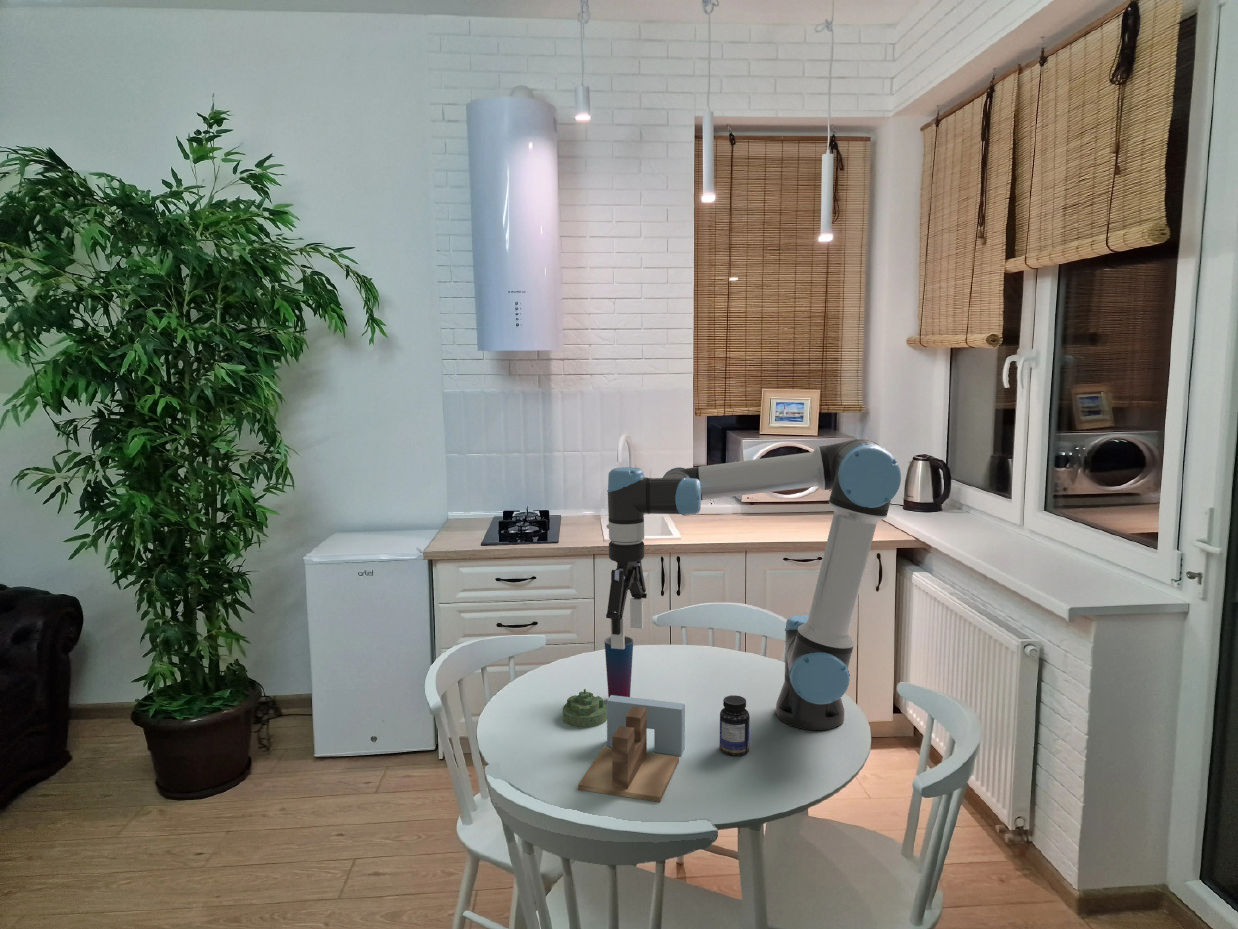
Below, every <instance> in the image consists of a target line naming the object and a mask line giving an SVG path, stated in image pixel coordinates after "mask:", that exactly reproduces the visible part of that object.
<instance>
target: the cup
mask: <svg viewBox="0 0 1238 929" xmlns="http://www.w3.org/2000/svg"><path fill="white" fill-rule="evenodd" d="M624 636H625V648H624V649H615V648H611V636H608V637H606V638H605V639H604V652H605V667H606V681H607V682H606V683H607V694H608V695H607V696H608V698H609V697H610V696H611V695H615V696H623V697H631V689H632V688H631V685H632V683H631V682H632V671H633V670H632V669H633V652H634V639H633V638H632V637H630V636H626V635H624Z"/></svg>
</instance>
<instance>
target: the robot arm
mask: <svg viewBox="0 0 1238 929" xmlns="http://www.w3.org/2000/svg"><path fill="white" fill-rule="evenodd" d="M643 470H644V469H642V468H640V467H634V466H633V467H632V466H625V467H624V466H623V467H622V466H621V467H616V468H615V467H614V468H613V469H611V470H610V471H609V472H608V479H607V480H608V481H607V515H608V517H607V518H608V520H607V521H608V524H607V525H606V529H607V530H608V540H610V541H609V542H608V559H609V560H611V561H612V562H615V563H616V564H617V565H616V568H615V569H611V572H610V575H611V576H610V588H609V594H608V603H607V610H606V614H605V617H606V619H610V637H611V648H615V649H624V648H625V636H626V635H625V617H624V611H625V606H626V602H627V596H628V592H630V596H631V598H629V604H630V605H629V608H630V609H629V610H630V611H629V612H630V613H629V614H630V618H629V619H630V621H629V622H630V625H629V626H630V628H633V629H644V606H643V605H644V599H647V596H648V594H647V593H646V591H647V589H646V583H645V577H644V573H643V571H644V570H643V567H642V560H644V558H645V543H644V539H645V514H648V515H649V514H658V515H659V514H660V515H682V516H686V515H696V514H699V513H700V511H701V508H702V507H701V506H702V501H703V500H704V501H705V500H715V499H722V498H730V497H738V496H739V497H740V496H747V495H756V494H765V493H773V492H780V491H781V492H782V491H788V490H799V489H808V488H816V487H817V488H819V489H821V490H822V491H828V490H829V491H830V490H831V492H830V495H829V498H828V499H829V500H828V503H829V506H830V507H831V508H832V510H833V514H832V515H833V516H832V519H831V524H830V528H829V532H828V536H827V541H826V544H825V548H824V552H823V557H822V561H821V564H820V568H819V573H818V575H817V576H818V577H817V580H816V584H815V589H814V593H813V596H812V597H813V598H812V601H811V606H810V610H809V612H808V613H809V614H805V615H803V614H802V615H801V614H800V615H795V616H790V617H789V618H787V619H786V622H785V628H784V631H785V640H784V641H785V643H784V644H785V648H784V649H785V650H784V653H785V654H784V682H783V684H782V687H781V689H780V692H779V695H778V698H777V701H776V703H775V715H776V717H777V718H778V720H780V721H781V722H783V723H784V724H786V725H789V726H791V727H794V728H798V729H800V730H801V729H802V730H810V731H825V730H831V728H832V729H836V728H837V727H836V726H838V725H839V726H841V725H842V724H843V723H844V721H845V707H844V704H843V700H842V697H843V696H844V695H845V694H846V693H847V690H848V688H849V686H850V678H851V676H850V675H851V674H850V670H849V666H850V662H851V658H852V653H853V649H854V646H855V642H854V640H853V637H852V636H851V635H850V630H851V626H852V623H853V618H854V614H855V611H856V606H857V603H858V597H859V595H860V591H861V587H862V582H863V578H864V575H865V572H866V567H867V563H868V559H869V556H870V551H871V547H872V543H873V539H874V536H875V533H876V532H875V531H876V529H877V524H878V523H879V522H880V521H882V520H884V519H885V518H887V516H888V513H889V509H890V505H891V503H892V500H893V499H894V498H895V496H896V495H897V493H898V491H899V489H900V486H901V483H902V472H901V468H900V465H899V462H898V461H897V459H896V457H895V456H894V455H893V454H892V453H891V451H889V450H888V449H887V448H885V447H884V446H881V445H879V444H878V443H877V442H874V441H872V440H870V439H865V438H863V439H862V438H861V439H860V438H858V439H850V440H847V441H843V442H837V443H833V444H826V445H821V446H816V447H815V449H813V451H812V452H803V453H801V452H800V453H795V454H787V455H780V456H779V455H778V456H772V457H764V458H756V459H749V460H742V461H741V460H740V461H739V460H738V461H732V462H727V463H726V462H725V463H716V464H711V465H701V466H697V467H696V466H695V467H688V468H685V467H681V466H680V467H674V468H671V469H669V470H667V472H665V474H664V475H663V477H645V475H644V471H643ZM840 724H841V725H840ZM839 726H838V727H839Z"/></svg>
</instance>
